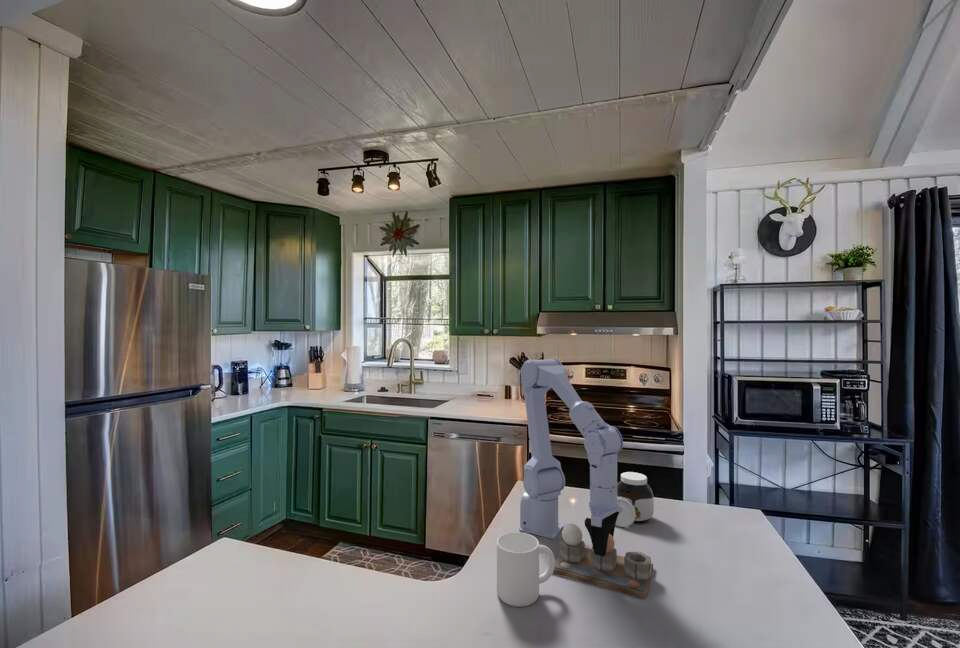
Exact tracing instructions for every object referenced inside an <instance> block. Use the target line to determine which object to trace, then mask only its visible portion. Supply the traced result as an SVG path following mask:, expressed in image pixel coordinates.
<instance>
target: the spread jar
mask: <svg viewBox="0 0 960 648" xmlns="http://www.w3.org/2000/svg"><path fill="white" fill-rule="evenodd" d="M654 502H655V500H654V493H653V490H652V488H651V487H650V485H649V484H648V477H647V475H645V474H643V473H641V472H640V473H639V472H634V471H626V472H622V473H621V474H620V481H619V482H617V504H618V505H621V506H623V511H622V512H620V513H619V515H618V517H617V520H616V524H615V526H617V527H623V528H625V527H630V526H631V525H633V524H634V525H644V524H646V523H647V522H648V523H649V521H651V520H652V519H653V516H654V510H655V509H654V507H655V505H654V504H655V503H654Z"/></svg>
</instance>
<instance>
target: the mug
mask: <svg viewBox="0 0 960 648" xmlns="http://www.w3.org/2000/svg"><path fill="white" fill-rule="evenodd" d="M540 554H544V555H545V556H546V557H547V568H546V569H545V571H544V573H542V574H540ZM555 562H556V560H555V556H554V553H553V551H552V550H551V549H550V548H549V547H548V546H546V545H544V544H540V542H539V540H538V539H537V538H536V537H535V536H533V534H531V533H527V532H523V531H513V532H507V533H506V532H505V533H502V534H501V535H500V536H498V537H497V539H496V592H497V597H499V600H500V601H502V602H503V603H505V604H506V605H508V606H510V607H515V608H517V607H518V608H522V607H528V606H531V605H532V604H534V603H535V602H536V601H538V600H537V599H538V598H539V594H540V584H543V583H545V582H547V581H548V580H549V579H550V578H551V577H552V575H553V574H554V573H553V571H554V567H555Z"/></svg>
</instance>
